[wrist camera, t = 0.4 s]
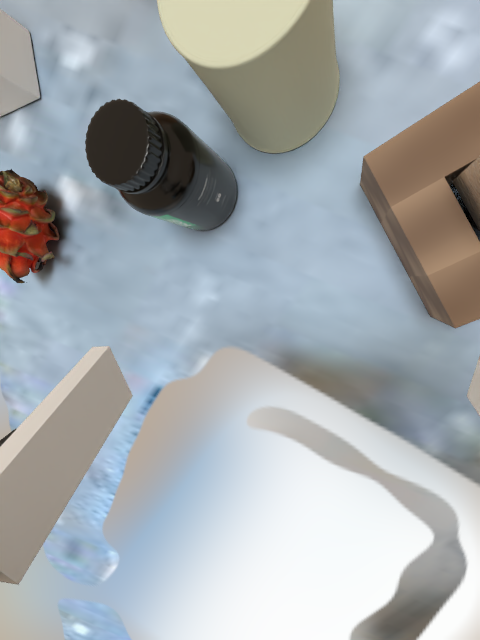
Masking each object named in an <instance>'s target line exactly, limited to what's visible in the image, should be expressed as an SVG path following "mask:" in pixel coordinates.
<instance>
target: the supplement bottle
mask: <svg viewBox="0 0 480 640" xmlns="http://www.w3.org/2000/svg"><path fill="white" fill-rule="evenodd" d="M85 144H86V149H85V151H86V153H87V160H88V162H89V166H90V167H91V169H92V172H93V173H95V175H96V177H97V178H99V179H100V180H101V181H102V182H103V183H106V184H108V185H109V186H112V187H114V188H116V189H118V191H119V192H120V194H121V196H122V197H123V199H124V200H125V201H126V202H127V203H128V204H129V205H130V206H131V207H132V208H134V209H135V210H137V211H139V212H141V213H143V214H146V215H149V216H152V217H155V218H158V219H161V220H165V221H168V222H171V223H174V224H177V225H181V226H184V227H187V228H190V229H194V230H201V231H204V230H210V229H213V228H215V227H217V226H219V225H220V224H222V223H223V222H224V221H225V220H226V219H227V218H228V216H229V215H230V213H231V212H232V210H233V207H234V205H235V201H236V196H237V186H236V181H235V177H234V174H233V172H232V171H231V169H230V167H229V166H228V165H227V164H226V163H225V162H224V161H223V160H222V159H221V158H220V157H219V156H218V155H217V154H216V153H215V152H214V151H213V150H212V149H211V148H210V147H209V146H208V145H207V144H205V143H204V142H203V141H202V140H201V139H200V138H199V137H198V136H197V135H196V134H195V133H194V132H193V131H192V130H191V129H190V128H188V127H187V126H186V125H185V124H184V123H183V122H182V121H180V120H179V119H178V118H176V117H175V116H173V115H171V114H168V113H165V112H145V111H143V110H142V109H141V108H140V107H138V106H137V105H136V104H134V103H133V102H129V101H127V100H121V99H117V100H112V101H111V102H107V103H106V104H105V105H104V106H101V107H100V109H99V110H98V111H97V112H96V113H95V115H94V117H93V118H92V119H91V122H90V124H89V126H88V131H87V133H86V141H85Z"/></svg>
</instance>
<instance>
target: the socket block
mask: <svg viewBox="0 0 480 640" xmlns="http://www.w3.org/2000/svg"><path fill="white" fill-rule="evenodd" d="M479 156H480V82H478V83H477V84H475V85H474V86H472V87H471V88H469V89H468V90H466V91H464V92H463V93H461V94H460V95H458V96H457V97H455V98H454V99H452V100H450V101H449V102H447V103H446V104H444V105H443V106H441V107H440V108H438V109H437V110H435V111H433V112H432V113H430V114H429V115H427V116H426V117H424V118H423V119H421V120H419V121H418V122H416V123H415V124H413V125H412V126H410V127H409V128H407V129H406V130H404V131H402V132H401V133H399V134H398V135H396V136H395V137H393V138H392V139H390V140H388V141H387V142H385V143H384V144H382V145H381V146H379V147H378V148H376V149H375V150H373V151H371V152H370V153H368V154H367V155H365V156H364V158H363V166H362V173H361V181H360V185H361V187H362V189H363V191H364V193H365V195H366V196H367V198H368V200H369V202H370V204H371V206H372V208H373V210H374V212H375V213H376V215H377V217H378V219H379V221H380V223H381V225H382V227H383V228H384V230H385V232H386V234H387V236H388V238H389V240H390V242H391V243H392V245H393V247H394V249H395V251H396V253H397V255H398V257H399V258H400V260H401V262H402V264H403V266H404V268H405V270H406V272H407V274H408V275H409V277H410V279H411V281H412V283H413V285H414V287H415V289H416V290H417V292H418V294H419V296H420V298H421V300H422V302H423V304H424V305H425V307H426V309H427V311H428V313H429V315H430V316H431V317H433V318H435V319H437V320H439V321H441V322H443V323H445V324H448V325H450V326H452V327H454V328H457V327H460V326H462V325H465V324H467V323H470V322H473V321H475V320H478V319H480V241H479V240H478V238H477V236H476V234H475V232H474V230H473V229H472V227H471V225H470V223H469V221H468V219H467V218H466V216H465V214H464V212H463V210H462V208H461V207H460V205H459V203H458V201H457V199H456V197H455V196H454V194H453V192H452V190H451V188H450V185H452V184H453V182H452V181H453V180H454V179H455V178H456V177H458V176H459V175H460V174H461V173H462V172H463V171H464V170H465V169H466V168H467V167H468V166H469V165H470V164H471V163H473V162H474V161H475V160H476V159H477V158H478V157H479Z"/></svg>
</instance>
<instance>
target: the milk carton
mask: <svg viewBox="0 0 480 640" xmlns="http://www.w3.org/2000/svg"><path fill="white" fill-rule="evenodd" d="M39 98H40V92H39V86H38V80H37V74H36V68H35V62H34V56H33V50H32V44H31V38H30V33H29V31H28V30H27V29H26V28H25V27H23V26H22V25H21V24H19V23H18V22H17V21H15V20H14V19H13V18H12V17H10V16H9V15H8V14H6V13H5V12H4V11H3V10H1V9H0V117H1V116H3V115H5V114H7V113H9V112H12V111H14V110H16V109H18V108H20V107H22V106H24V105H26V104H28V103H31V102H33V101H35V100H37V99H39Z"/></svg>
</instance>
